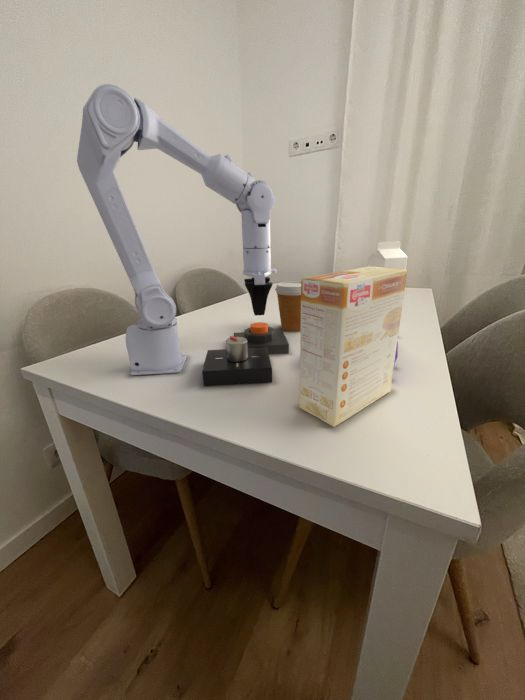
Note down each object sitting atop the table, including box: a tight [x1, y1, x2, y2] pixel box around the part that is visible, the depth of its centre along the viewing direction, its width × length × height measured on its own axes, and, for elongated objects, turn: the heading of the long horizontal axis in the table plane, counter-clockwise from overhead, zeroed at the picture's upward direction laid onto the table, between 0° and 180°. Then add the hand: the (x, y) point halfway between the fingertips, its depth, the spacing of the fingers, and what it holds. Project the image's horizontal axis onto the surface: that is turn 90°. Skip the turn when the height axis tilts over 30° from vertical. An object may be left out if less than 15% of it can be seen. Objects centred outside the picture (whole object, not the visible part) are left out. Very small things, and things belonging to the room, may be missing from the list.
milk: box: [367, 240, 409, 270], centre depth 72 cm, size 6×6×22 cm
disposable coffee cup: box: [275, 280, 301, 333], centre depth 81 cm, size 10×10×12 cm
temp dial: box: [224, 335, 248, 362], centre depth 56 cm, size 4×4×4 cm
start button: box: [249, 321, 269, 334], centre depth 68 cm, size 4×4×2 cm
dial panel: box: [201, 347, 273, 388], centre depth 57 cm, size 12×10×3 cm
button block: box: [233, 326, 290, 356], centre depth 69 cm, size 12×10×4 cm
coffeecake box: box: [298, 266, 408, 428], centre depth 44 cm, size 15×7×20 cm, turn 129°
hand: (258, 312), depth 67 cm, fingers open, 3 cm apart
